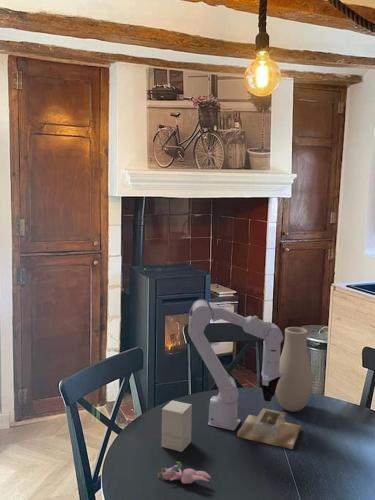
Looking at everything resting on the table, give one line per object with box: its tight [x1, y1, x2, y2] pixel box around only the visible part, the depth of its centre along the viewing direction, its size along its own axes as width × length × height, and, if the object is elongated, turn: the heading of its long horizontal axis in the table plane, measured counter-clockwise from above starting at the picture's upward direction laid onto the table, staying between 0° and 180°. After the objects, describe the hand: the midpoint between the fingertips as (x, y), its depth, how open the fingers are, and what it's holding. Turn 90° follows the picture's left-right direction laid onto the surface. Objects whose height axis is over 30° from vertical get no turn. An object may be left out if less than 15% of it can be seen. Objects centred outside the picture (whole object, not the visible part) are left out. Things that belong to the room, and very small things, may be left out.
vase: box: [275, 326, 314, 412], centre depth 186 cm, size 14×14×30 cm
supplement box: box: [161, 400, 193, 453], centre depth 160 cm, size 7×7×13 cm
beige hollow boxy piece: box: [253, 407, 287, 440], centre depth 169 cm, size 8×12×4 cm, turn 157°
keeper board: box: [236, 414, 302, 450], centre depth 169 cm, size 18×14×6 cm
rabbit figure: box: [157, 461, 211, 485], centre depth 140 cm, size 6×6×15 cm
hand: (269, 398), depth 174 cm, fingers open, 4 cm apart
